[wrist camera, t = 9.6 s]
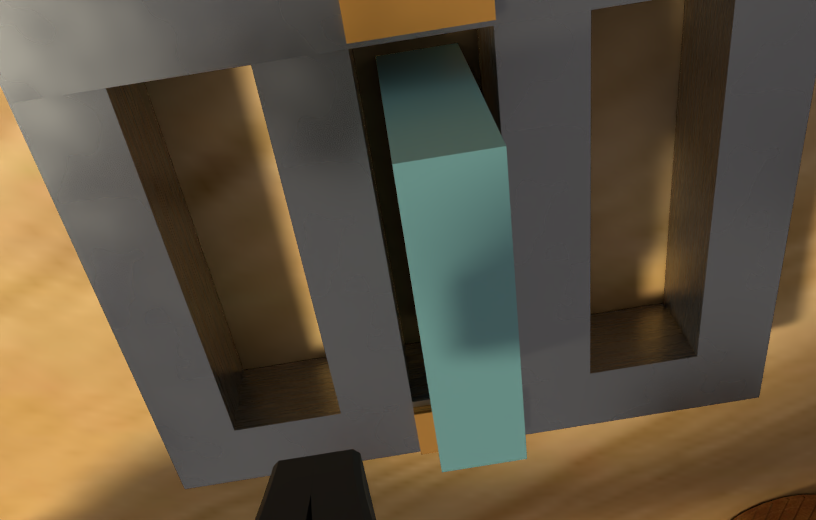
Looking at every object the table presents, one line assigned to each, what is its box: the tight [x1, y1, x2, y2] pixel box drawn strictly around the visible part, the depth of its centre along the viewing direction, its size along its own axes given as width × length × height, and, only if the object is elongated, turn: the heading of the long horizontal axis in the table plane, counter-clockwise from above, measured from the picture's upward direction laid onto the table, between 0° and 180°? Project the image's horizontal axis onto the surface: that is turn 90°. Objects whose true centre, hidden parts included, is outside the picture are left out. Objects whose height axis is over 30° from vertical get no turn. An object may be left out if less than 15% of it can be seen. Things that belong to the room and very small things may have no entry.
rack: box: [0, 0, 816, 489], centre depth 19 cm, size 14×17×3 cm
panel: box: [375, 43, 527, 472], centre depth 18 cm, size 8×2×6 cm, turn 8°
